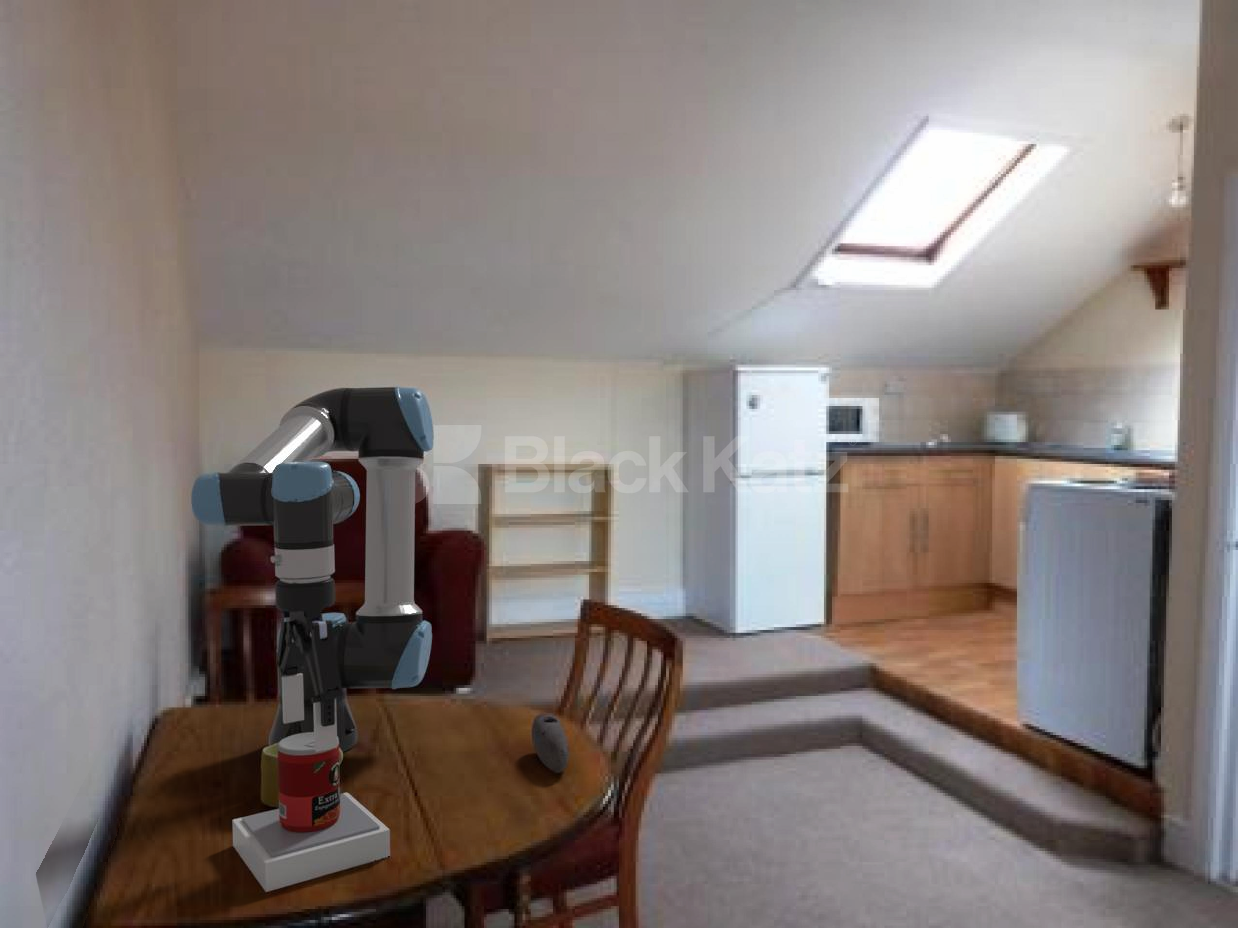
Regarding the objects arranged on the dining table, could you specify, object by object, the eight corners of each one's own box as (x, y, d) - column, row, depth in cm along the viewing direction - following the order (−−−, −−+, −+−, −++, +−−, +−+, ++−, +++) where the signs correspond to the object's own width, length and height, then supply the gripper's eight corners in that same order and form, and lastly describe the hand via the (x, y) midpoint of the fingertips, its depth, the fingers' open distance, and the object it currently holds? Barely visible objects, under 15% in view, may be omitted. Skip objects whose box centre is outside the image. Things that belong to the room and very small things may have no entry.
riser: (233, 845, 127) (232, 816, 127) (347, 816, 137) (347, 789, 136) (265, 891, 114) (265, 859, 114) (390, 856, 124) (389, 826, 124)
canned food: (322, 835, 121) (321, 751, 120) (267, 830, 122) (265, 748, 122) (351, 811, 128) (349, 732, 128) (298, 807, 130) (296, 729, 130)
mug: (256, 809, 134) (267, 737, 138) (249, 807, 143) (260, 740, 147) (342, 811, 139) (351, 742, 143) (331, 809, 148) (339, 744, 151)
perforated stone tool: (575, 778, 151) (574, 736, 151) (543, 781, 150) (542, 739, 150) (559, 748, 166) (559, 709, 165) (530, 750, 164) (529, 711, 164)
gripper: (250, 568, 132) (254, 715, 133) (306, 595, 112) (310, 768, 113) (303, 563, 136) (307, 705, 138) (366, 588, 116) (370, 755, 117)
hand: (309, 734), depth 125 cm, fingers open, 13 cm apart
